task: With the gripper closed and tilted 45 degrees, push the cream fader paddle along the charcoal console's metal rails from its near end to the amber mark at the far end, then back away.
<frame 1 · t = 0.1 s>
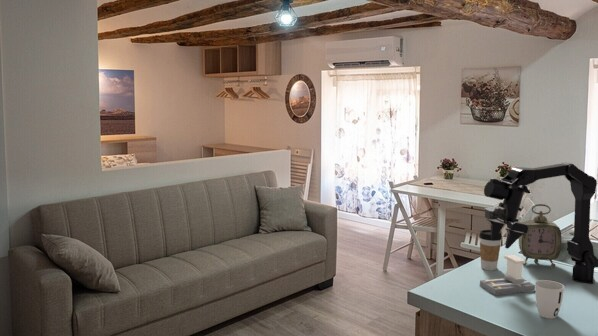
hand: (499, 244, 187), 15 cm above the worktop, tool pointing down, fingers open, 9 cm apart
coffee cup: (488, 268, 208), on the worktop
tabletop clock: (537, 264, 211), on the worktop
fader console: (506, 288, 187), on the worktop
fader: (514, 268, 186), point 7 cm above the worktop, slide at 0.0 cm
cup: (547, 315, 164), on the worktop
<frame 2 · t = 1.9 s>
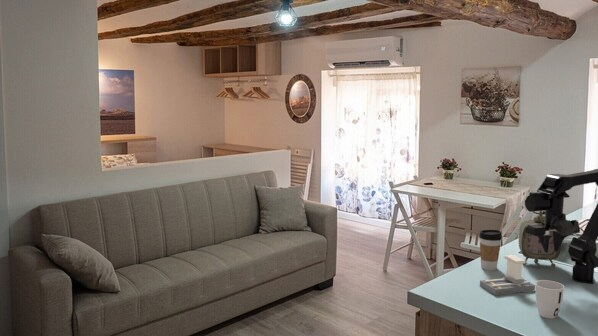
hand: (551, 251, 189), 12 cm above the worktop, tool pointing down, fingers open, 4 cm apart
nothing on the worktop moved.
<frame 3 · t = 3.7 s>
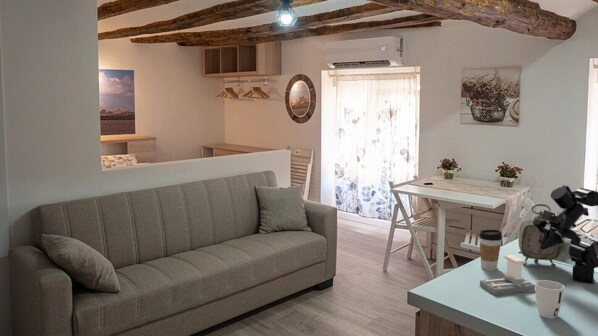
hand: (540, 249, 188), 13 cm above the worktop, tool tilted 45°, fingers closed
nothing on the worktop moved.
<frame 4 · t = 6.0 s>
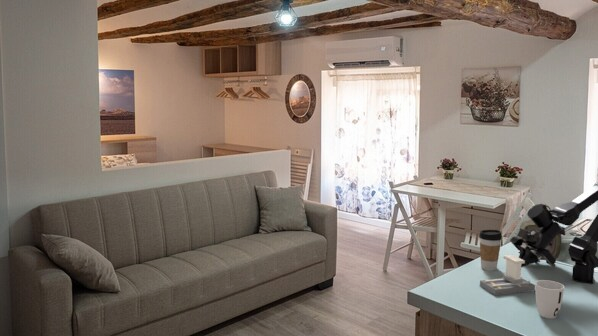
hand: (516, 267, 186), 7 cm above the worktop, tool tilted 45°, fingers closed, pressing on fader
fader: (513, 268, 186), point 7 cm above the worktop, slide at 0.3 cm, touching gripper
everything else where it was.
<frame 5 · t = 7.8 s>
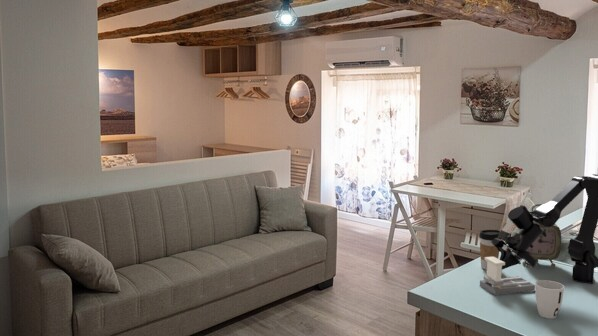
hand: (497, 269, 184), 7 cm above the worktop, tool tilted 45°, fingers closed, pressing on fader
fader: (494, 270, 184), point 7 cm above the worktop, slide at 8.1 cm, touching gripper
everything else where it was.
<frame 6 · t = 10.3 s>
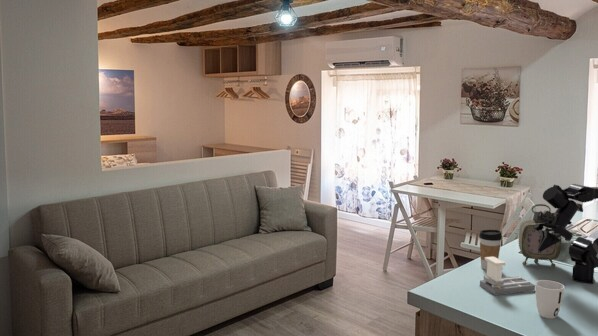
hand: (539, 250, 188), 13 cm above the worktop, tool tilted 35°, fingers closed
fader: (494, 270, 184), point 7 cm above the worktop, slide at 8.0 cm
everything else where it was.
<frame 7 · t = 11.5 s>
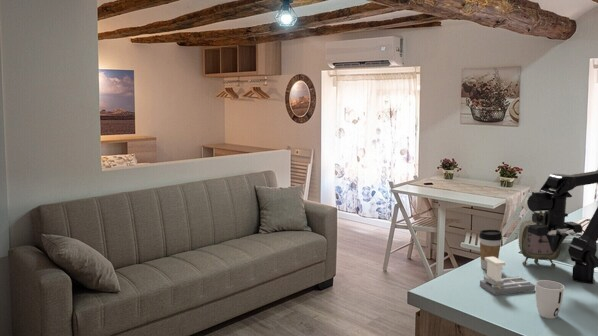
hand: (553, 251, 189), 12 cm above the worktop, tool pointing down, fingers closed
nothing on the worktop moved.
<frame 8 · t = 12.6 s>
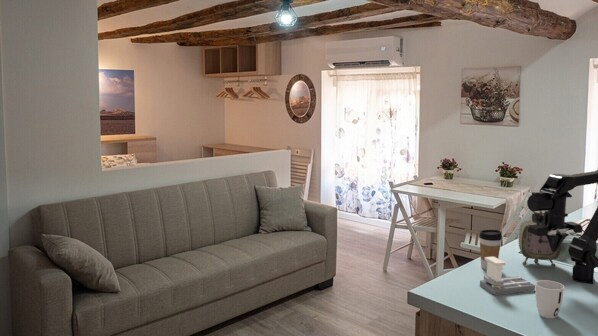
hand: (553, 251, 189), 12 cm above the worktop, tool pointing down, fingers closed
nothing on the worktop moved.
at the end: fader slide at 8.0 cm; coffee cup moved 0.2 cm from its start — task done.
